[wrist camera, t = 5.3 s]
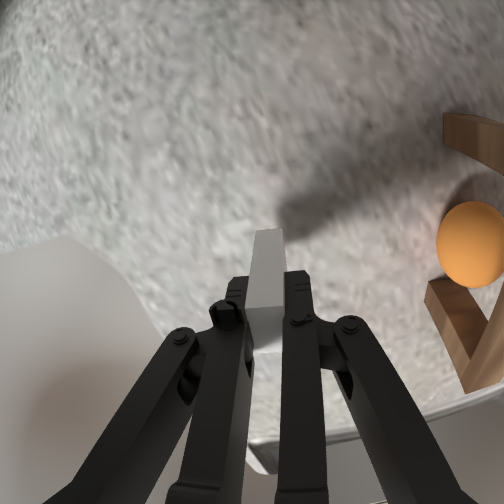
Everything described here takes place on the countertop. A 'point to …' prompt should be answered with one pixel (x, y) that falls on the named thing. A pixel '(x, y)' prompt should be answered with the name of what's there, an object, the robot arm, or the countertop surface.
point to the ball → (472, 244)
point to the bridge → (457, 296)
